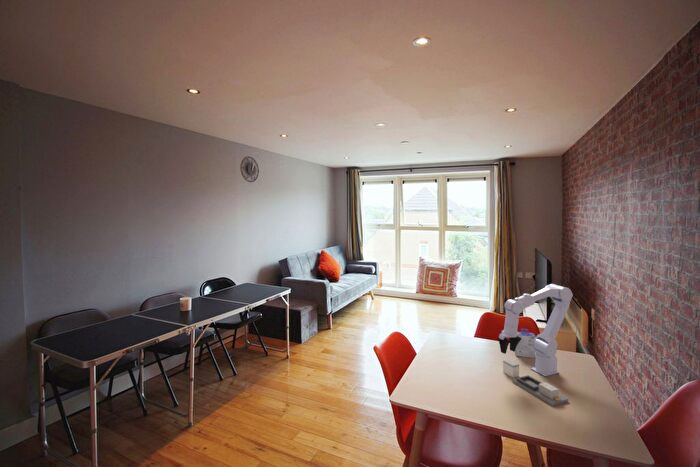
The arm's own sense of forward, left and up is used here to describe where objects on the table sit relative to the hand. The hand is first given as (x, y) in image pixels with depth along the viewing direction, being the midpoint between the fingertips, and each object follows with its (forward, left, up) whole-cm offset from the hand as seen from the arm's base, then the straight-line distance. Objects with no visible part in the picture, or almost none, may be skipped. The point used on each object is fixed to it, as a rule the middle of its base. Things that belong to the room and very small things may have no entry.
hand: (507, 351), depth 153 cm
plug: (-2, 0, -12) cm, 12 cm away
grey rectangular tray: (-1, +16, -12) cm, 20 cm away
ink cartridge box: (-26, -13, -12) cm, 32 cm away
